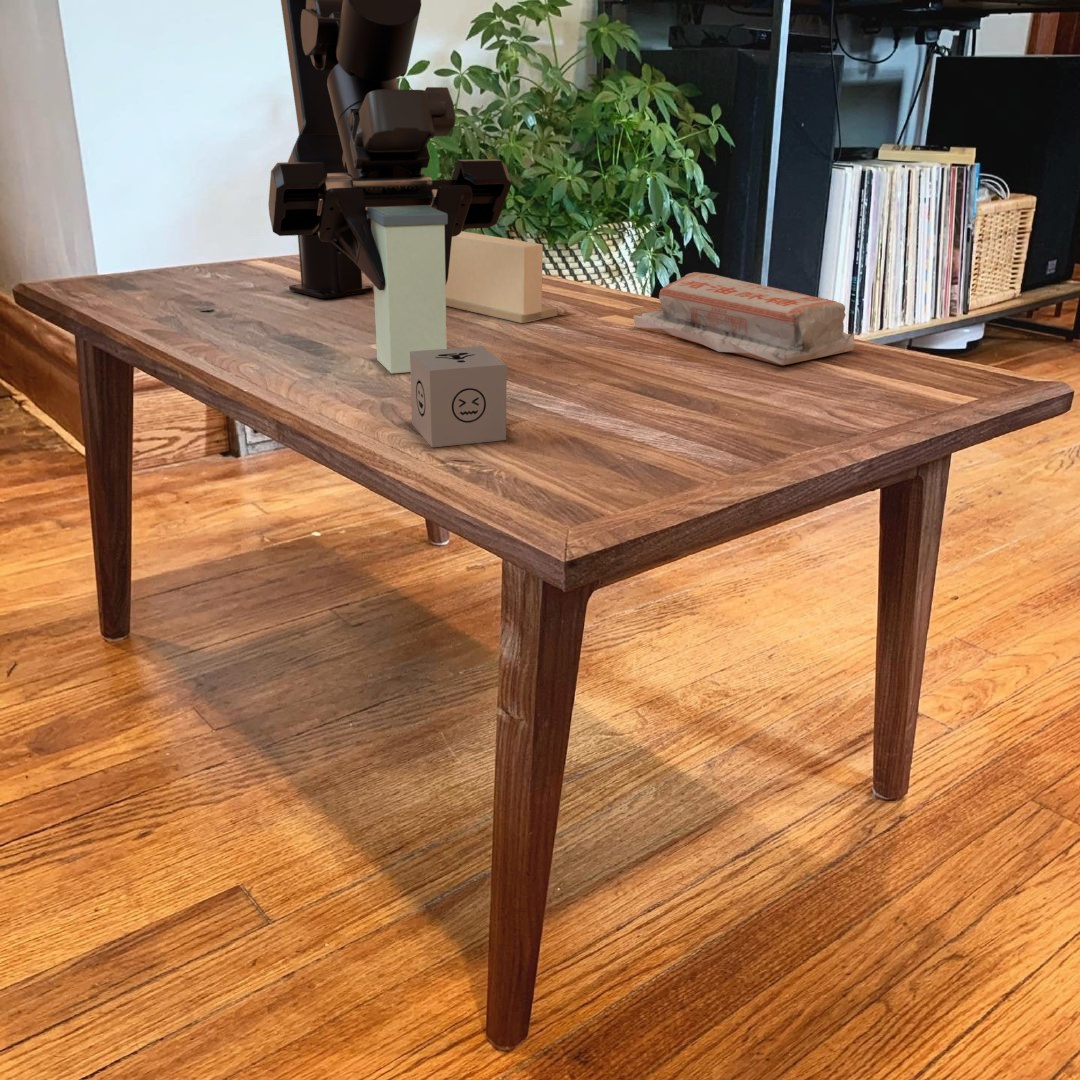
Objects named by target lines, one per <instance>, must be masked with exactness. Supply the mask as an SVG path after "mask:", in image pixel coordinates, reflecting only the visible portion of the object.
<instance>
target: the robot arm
mask: <svg viewBox="0 0 1080 1080" xmlns="http://www.w3.org/2000/svg"><path fill="white" fill-rule="evenodd" d="M280 5H281V12H282V13H281V14H282V19H283V27H284V35H285V41H286V48H287V57H288V64H289V69H290V77H291V79H290V80H291V85H292V91H293V92H292V93H293V101H294V107H295V114H296V122H297V128H298V129H297V131H298V137H297V138H296V140H295V143H294V145H293V147H292V150H291V152H290V155H289V158H288V160H287V161H286V162H276V164H275V165H274V166H273V167H272V169H271V171H270V179H269V194H268V215H269V220H270V225H271V230H272V233H274V234H276V235H277V236H279V237H285V236H286V237H288V236H289V237H290V236H291V237H292V236H294V237H295V236H296V237H297V239H298V240H297V241H298V242H297V243H298V256H299V269H300V283H297V284H291V285H289V286H288V289H289V291H291V292H296V293H300V294H303V295H307V296H312V297H315V298H320V299H332V298H338V297H339V298H340V297H344V296H350V295H356V294H364V293H369V292H374V285H375V286H376V287H377V289H378V290H384V288H385V276H384V271H383V266H382V261H381V258H380V255H379V252H378V249H377V246H376V243H375V240H374V237H373V234H372V231H371V219H369V218H368V215H367V208H370V207H404V206H430V207H432V208H435V209H437V210H439V211H442V212H444V213H447V215H448V224H445V279H446V283H447V280H448V272H449V262H450V252H451V242H452V237H454V236H457V235H459V234H460V233H461V231H463V230H473V229H489V228H492V227H493V226H495V225H497V224H498V222H499V219H500V217H501V214H502V211H503V209H504V205H505V203H506V201H507V198H508V195H509V192H510V190H511V186H512V185H513V183H512V180H511V176H510V173H509V169H508V166H507V165H506V164H505V162H504V161H503V160H501V159H498V158H497V159H496V158H493V159H492V158H489V159H488V158H487V159H486V158H485V159H457V160H456V162H455V165H454V169H453V172H452V175H451V178H450V179H433V178H432V177H430V176H423V173H422V169H427V168H428V167H429V163H430V160H431V155H430V151H429V148H428V144H429V142H430V140H431V139H434V138H435V137H448V136H449V134H450V133H451V132H452V130H453V128H454V127H455V125H456V112H455V105H454V102H453V98H452V96H451V93H450V90H449V88H448V87H447V86H446V87H445V86H427V87H425V89H400V87H399V83H398V79H397V78H400V77H404V76H406V75H407V72H408V68H409V64H410V60H411V55H412V49H413V46H414V45H413V44H414V41H415V36H416V32H417V26H418V22H419V18H420V13H421V8H422V0H280ZM363 274H364V275H365V277H367V279H368V280H369V281H370V282H371V283H372V284H373V286H372V285H369V284H365V283H363Z"/></svg>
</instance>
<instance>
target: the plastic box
mask: <svg viewBox="0 0 1080 1080" xmlns="http://www.w3.org/2000/svg"><path fill="white" fill-rule="evenodd" d="M367 215H368V218H369V219H371V231H372V234H373V237H374V240H375V243H376V246H377V249H378V252H379V255H380V258H381V261H382V266H383V271H384V276H385V288H384V290H378V289H377V287H376V286H375V285H374V284H373V301H374V321H375V323H374V324H375V342H376V343H375V346H376V360H377V361H378V362H379V363H380V364H381V365H382V366H383V367H384V368H385V369H386V370H387V371H388V372H389V373H390V374H394V375H395V374H403V373H404V374H405V373H411V372H410V351H424V350H438V349H448V343H447V340H448V339H447V338H448V337H447V336H448V335H447V306H446V279H445V224H448V215H447V213H444V212H442V211H439V210H437V209H435V208H432V207H430V206H404V207H370V208H367Z"/></svg>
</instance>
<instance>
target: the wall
mask: <svg viewBox="0 0 1080 1080" xmlns="http://www.w3.org/2000/svg"><path fill="white" fill-rule="evenodd" d="M543 249H544V245H543V244H542V243H536V242H530V241H524V240H518V239H511V238H507V237H506V238H505V237H500V236H493V235H487V234H482V233H477V232H476V233H475V232H470V231H463V230H462V231H461V233H460V234H459V235H457V236H454V237H452V242H451V252H450V262H449V272H448V280H447V283H446V307H449V308H454V309H459V310H462V311H467V312H472V313H475V314H479V315H484V316H487V317H488V316H489V317H493V318H498V319H501V320H506V321H510V322H514V323H519V324H524V323H529V322H534V321H539V320H544V319H548V318H553V317H558V313H559V312H558V310H559V309H558V307H556V306H552V305H546V304H543V255H544V254H543V252H544V251H543Z"/></svg>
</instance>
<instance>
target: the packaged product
mask: <svg viewBox="0 0 1080 1080" xmlns="http://www.w3.org/2000/svg"><path fill="white" fill-rule="evenodd" d="M658 301H659V302H660V307H661V310H656V311H649V312H643V313H642V314H641V315H635V314H634V315H633V325H634V326H633V327H634V328H637V329H641V330H646V331H651V332H655V333H660V334H662V335H663V334H664V335H669V336H672V337H675V338H679V339H682V340H686V341H689V342H692V343H695V344H699V345H702V346H705V347H707V348H710V349H712V350H713V351H716V352H718V353H730V354H735V355H738V356H742V357H745V358H750V359H753V360H757V361H761V362H765V363H768V364H772V365H776V366H785V365H786V366H787V365H791V364H795V363H800V362H804V361H809V360H815V359H819V358H825V357H828V356H833V355H837V354H841V353H842V354H843V353H846V352H851V351H854V350H855V345H856V343H855V342H856V341H855V333H854V332H853V333H846V332H844V331H845V330H844V329H845V328H844V327H845V326H844V325H845V324H844V320H845V318H846V316H847V315H846V313H845V312H846V305H844V303H841V302H839V301H836V300H831V299H828V298H823V297H819V296H812V295H808V294H806V293H801V292H796V291H792V290H787V289H784V288H783V289H782V288H777V287H773V286H769V285H762V284H759V283H755V282H754V283H753V282H750V281H749V282H748V281H745V280H740V279H735V278H730V277H726V276H722V275H718V274H713V273H706V272H698V271H693V272H690V273H687V274H685V275H684V276H682V277H680V278H678V279H676V280H675V281H672V282H670V283H668V284H666V285H665V286H663V287H662V288H661V289H660V291H659V293H658Z"/></svg>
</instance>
